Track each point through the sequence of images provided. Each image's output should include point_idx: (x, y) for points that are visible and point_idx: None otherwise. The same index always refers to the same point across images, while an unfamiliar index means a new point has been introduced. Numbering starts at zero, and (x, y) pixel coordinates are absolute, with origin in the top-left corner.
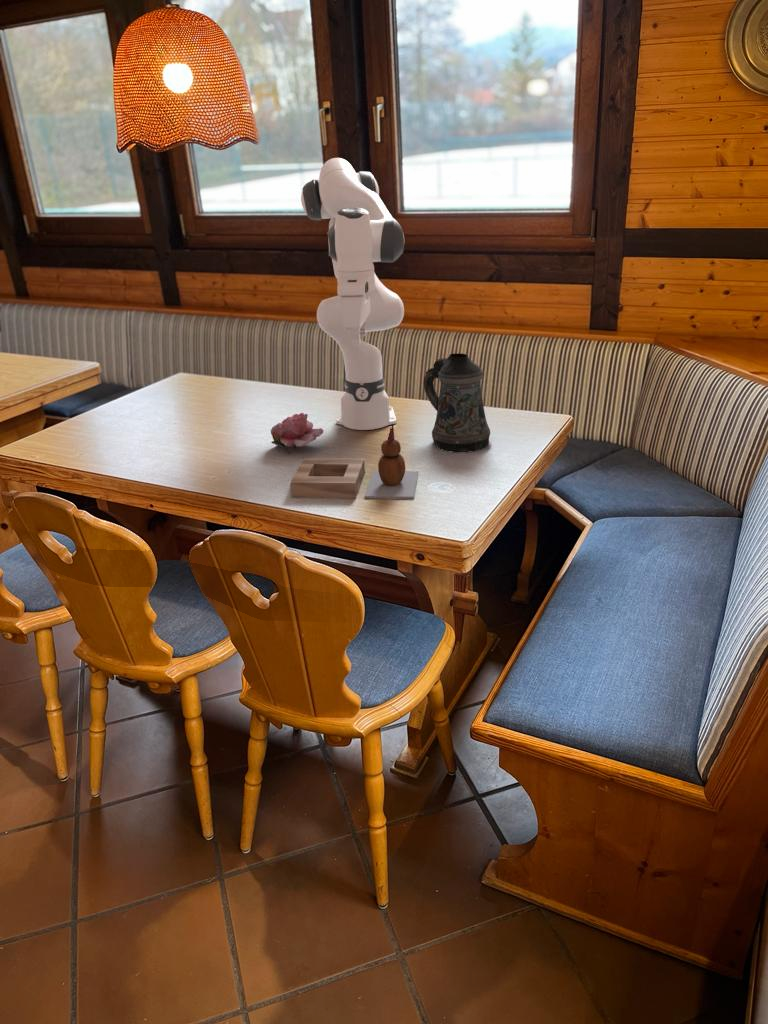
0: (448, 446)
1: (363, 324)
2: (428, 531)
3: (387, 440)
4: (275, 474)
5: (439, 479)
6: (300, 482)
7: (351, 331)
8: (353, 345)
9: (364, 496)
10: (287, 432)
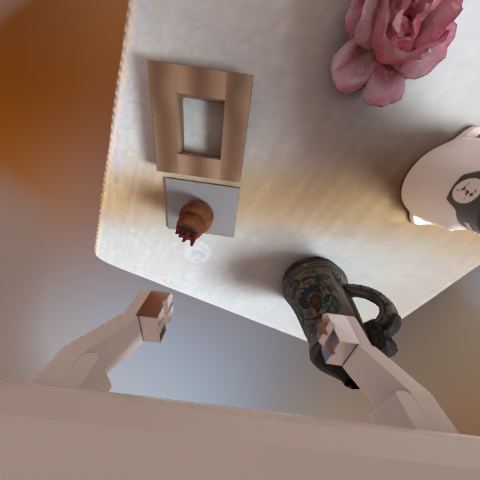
0: (289, 271)
1: (369, 387)
2: (104, 234)
3: (189, 227)
4: (251, 15)
5: (216, 252)
6: (150, 81)
7: (62, 358)
8: (143, 290)
9: (165, 178)
10: (375, 10)
